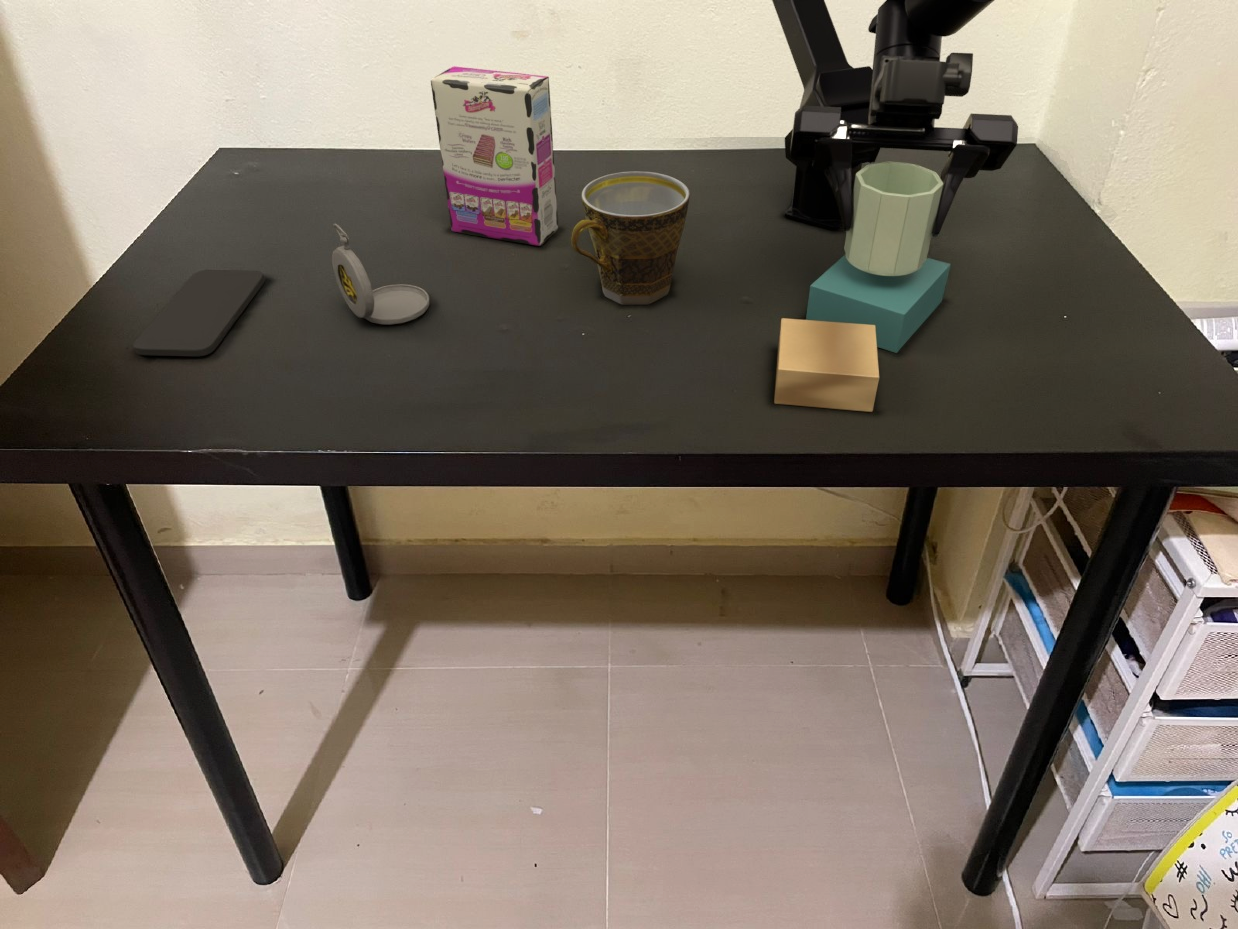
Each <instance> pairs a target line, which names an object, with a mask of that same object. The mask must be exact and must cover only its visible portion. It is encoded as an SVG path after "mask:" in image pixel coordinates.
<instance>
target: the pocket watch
mask: <svg viewBox="0 0 1238 929" xmlns="http://www.w3.org/2000/svg"><path fill="white" fill-rule="evenodd" d="M332 226H333V228H334V230H335V233H337V235H338V236H339V241H340V242H341V243H342V245H340V246H338V247H336V249H334V250H333V251H332V255H331V263H332V269H333V274H334V277H335V281H336V284H337V286H338V289H339V291H340V293H341V295H342V297H343V299H344V301H345V303H346V304H347V306H348V307H349V309H350V310H351V311H352V313H353V314H354V315H355V316H357V317H358V318H361V319H362V318H363V319H365V320H367V321H368V322H370V323H372V324H373V323H374V324H377V325H389V326H393V325H400V324H405V323H407V322H410V321H413V320H416V319H417V318H419V317H420V316H422V315H424V313H425V312H426V311H427V310H428V308H429V306H430V296H429V294H428V292H427V291H426V290H425V289H424V288H422V287H419V286H417V285H413V284H405V283H404V284H403V283H401V284H400V283H399V284H389V285H384V286H380V287H377V288H375V289H373V288H372V283H371V281H370V277H369V275H368V273H367V270H366V269H365V267H364V265H363V264H362V262H361V260H360V259H359V257H358V256H357V255H356V254H355V252H354V251H353V250H352V249H351V247H350V242H351V239H350V237H349V235H347V232H346V231H344V229H343V228H342V227H341V226H340V225H339V224H337V223H336V222H335V223H333V225H332Z"/></svg>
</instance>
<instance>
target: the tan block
mask: <svg viewBox="0 0 1238 929" xmlns="http://www.w3.org/2000/svg"><path fill="white" fill-rule="evenodd" d="M776 354H777V356H776V370H775V371H776V372H775V384H774V385H775V386H774V397H773V398H774V400H773V403H774V404H775V405H787V406H798V407H807V408H808V407H810V408H821V409H822V408H823V409H831V410H833V409H834V410H843V411H855V412H856V411H857V412H866V413H872V412H873V411H874V407H875V401H876V398H877V397H876V396H877V390H878V385H879V381H880V368H879V367H880V366H879V355H878V354H879V353H878V347H877V341H876V328H875V325H867V324H854V323H840V322H827V321H813V320H806V319H797V318H785V317H782V318H781V319H780V328H779V337H778V345H777V353H776Z"/></svg>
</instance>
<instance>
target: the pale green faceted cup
mask: <svg viewBox="0 0 1238 929" xmlns="http://www.w3.org/2000/svg"><path fill="white" fill-rule="evenodd" d="M940 177H941V176H939V174H938V173H937V171H934V170H932V169H930V168H927V167H924V166H921V165H919V164H918V163H917V164H916V163H909V162H902V161H892V160H890V161H889V160H888V161H881V162H874V163H868V164H866V165H865V166H864V167H863V166H862V167H861V170H860V171H859V172H857V173H856V177H855V183H854V190H853V196H852V219H851V228H850V231H846V235H845V240H844V246H843V249H844V255H845V256H846V259H847V260H848V261H849V263H850V264H852V265H853V266H854V267H856V268H858V269H860V270H862V271H865V272H868V273H871V274H876V275H882V276H901V275H907V274H910V273H913V272H916V271H917V270H919V269H920V268H921V267H922V266H923V264H924V262H925V261H926V259H927V258H928V254H929V249H930V245H931V240H932V237H933V236H932V232H933V227H934V223H935V218H936V214H937V210H938V205H939V201H940V196H941V192H942V187H943V182H942V180H941V179H940Z"/></svg>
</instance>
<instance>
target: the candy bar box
mask: <svg viewBox="0 0 1238 929" xmlns="http://www.w3.org/2000/svg"><path fill="white" fill-rule="evenodd" d="M430 88H431V93H432V102H433V108H434V115H435V122H436V129H437V136H438V145H439V152H440V157H441V158H440V159H441V166H442V171H443V179H444V186H445V193H446V201H447V207H448V208H447V209H448V215H449V223H450V229H451V231H452V232H454V233H460V234H465V235H470V236H471V235H472V236H478V237H481V238H482V237H483V238H489V239H495V240H499V241H505V242H506V241H507V242H512V243H519V244H524V245H530V246H536V247H540V246H542V245H543V244H545V243H546V241H547V240H549V238H551V237H552V236H553V235H554V234H555V233H556V232H557V231H558V230H559V218H558V217H559V216H558V214H559V213H558V200H557V187H556V186H557V185H556V169H555V156H554V139H553V124H552V123H553V122H552V106H551V105H552V104H551V92H550V91H551V90H550V88H551V87H550V77H549V76H547V75H538V74H529V73H522V72H511V71H502V70H493V69H492V70H491V69H483V68H474V67H463V66H451V67H450V68H448V69H446V70H444V71H443V72H441V73H439V74H438V75H436V76H434V77H433V78H431V79H430Z"/></svg>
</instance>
